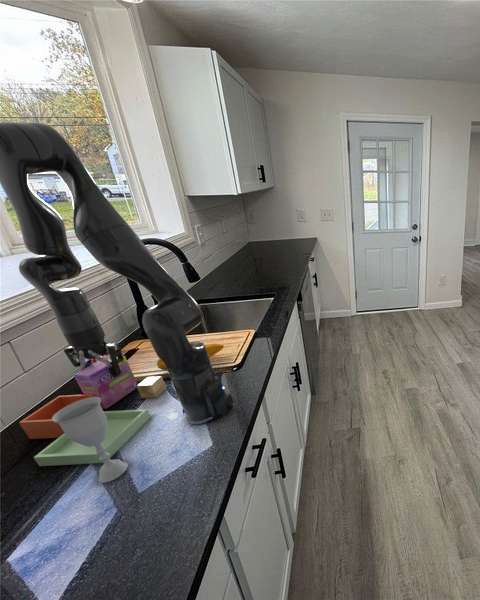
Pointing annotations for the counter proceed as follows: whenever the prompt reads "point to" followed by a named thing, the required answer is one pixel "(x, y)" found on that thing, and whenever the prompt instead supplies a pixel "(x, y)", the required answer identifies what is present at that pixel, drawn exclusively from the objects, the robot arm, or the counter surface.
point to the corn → (211, 351)
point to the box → (106, 382)
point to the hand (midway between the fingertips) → (105, 376)
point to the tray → (70, 452)
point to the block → (151, 387)
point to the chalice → (90, 432)
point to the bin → (49, 418)
